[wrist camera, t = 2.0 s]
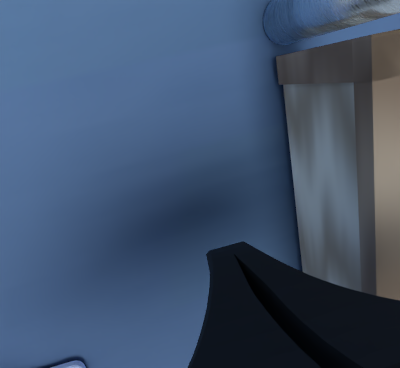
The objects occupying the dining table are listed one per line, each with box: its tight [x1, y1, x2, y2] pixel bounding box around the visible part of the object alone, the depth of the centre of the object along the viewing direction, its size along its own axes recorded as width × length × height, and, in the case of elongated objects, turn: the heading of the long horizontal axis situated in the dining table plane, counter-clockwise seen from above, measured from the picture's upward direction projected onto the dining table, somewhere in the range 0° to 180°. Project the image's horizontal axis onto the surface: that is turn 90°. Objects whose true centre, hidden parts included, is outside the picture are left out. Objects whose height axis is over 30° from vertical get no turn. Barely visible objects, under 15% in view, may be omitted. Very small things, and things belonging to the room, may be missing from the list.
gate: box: [276, 29, 400, 300], centre depth 14 cm, size 18×2×6 cm, turn 11°
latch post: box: [263, 0, 400, 45], centre depth 11 cm, size 2×2×7 cm
